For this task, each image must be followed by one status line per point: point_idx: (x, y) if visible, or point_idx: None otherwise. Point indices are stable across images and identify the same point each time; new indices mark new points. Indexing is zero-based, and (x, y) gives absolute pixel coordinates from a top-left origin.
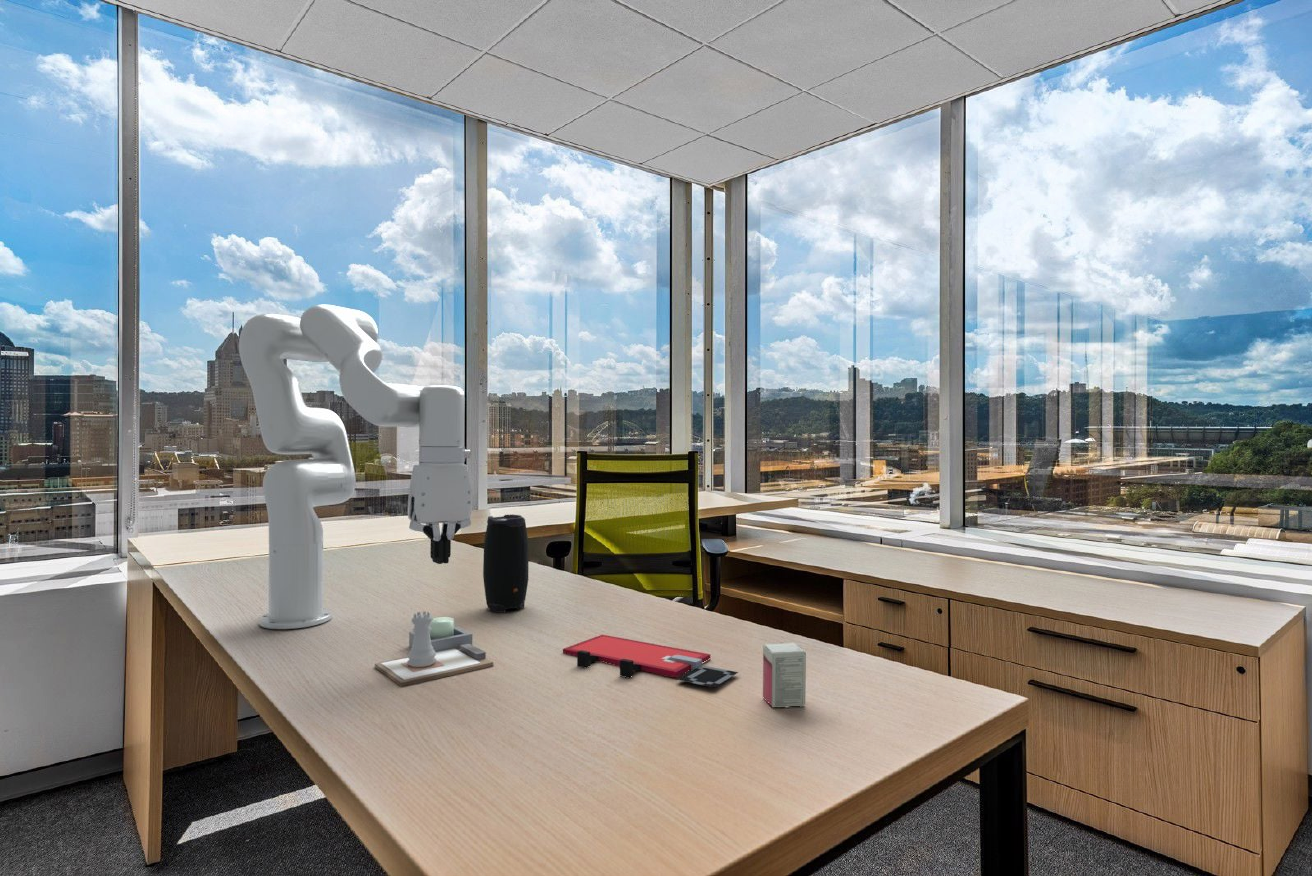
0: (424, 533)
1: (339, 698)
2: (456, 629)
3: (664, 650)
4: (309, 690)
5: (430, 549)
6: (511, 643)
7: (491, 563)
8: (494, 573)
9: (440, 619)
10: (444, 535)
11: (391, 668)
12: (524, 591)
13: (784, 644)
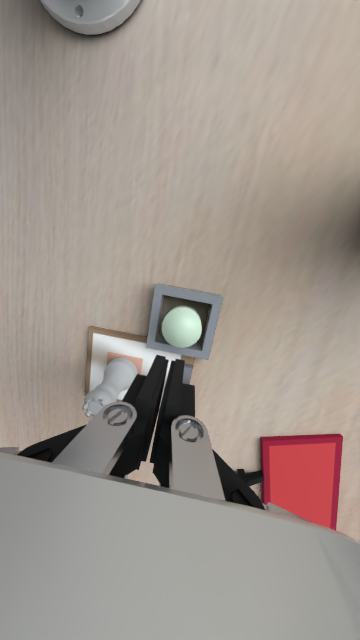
0: (61, 437)
1: (34, 376)
2: (208, 326)
3: (321, 515)
4: (18, 338)
5: (130, 386)
6: (252, 371)
7: None
8: None
9: (184, 324)
10: (157, 472)
11: (94, 356)
12: None
13: None
